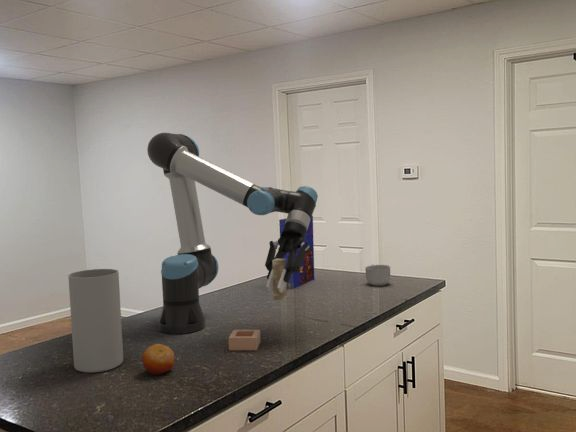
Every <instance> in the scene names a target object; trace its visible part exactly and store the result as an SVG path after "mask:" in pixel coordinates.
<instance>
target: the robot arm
mask: <svg viewBox="0 0 576 432" xmlns="http://www.w3.org/2000/svg"><path fill="white" fill-rule="evenodd" d="M146 149H147V151H146V152H147V156H148V157H149V160H150V161H151V163H152V164H154V165H155V166H157V167H158V168H161V169H162V170H163V175H164V177H166V178H167V179H168V180H169V186H170V191H171V198H172V203H173V208H174V213H175V214H174V216H175V221H176V226H177V233H178V237H179V243H180V247H179V249H178V250H177V252H176V253H177V254H176V255H171V256H168V257H166V258H165V259H163V261H162V262H161V269H160V274H161V289H162V306H163V307H162V310H161V313H160V317H159V321H158V330H159V331H160V332H161V333H163V334H164V333H165V334H172V335H173V334H174V335H176V334H177V335H178V334H179V335H181V334H188V333H189V334H190V333H194V332H198V331H201V330H202V329H204V328H205V327H206V317H205V315H204V312H203V310H202V307H201V304H200V293H199V292H200V290H199V289H202V288H203V287H207V286H208V285H210V284H211V283H212V282H213V281H214V280H215V279H216V278H217V275H218V272H219V262H218V259H217V258H216V257H215V255H213V253H212V248H211V245H209V244H207V242H206V239H205V235H204V234H205V233H204V228H203V227H204V226H203V221H202V216H201V215H202V214H201V210H200V204H199V199H198V198H199V197H198V192H197V187H196V182H197V183H199V184H200V185H202V186H204V187H206V188H208V189H210V190H212V191H214V192H216V193H219V194H220V195H222V196H224V197H226V198H228V199H230V200H232V201H234V202H235V203H238V204H240V205H242V206H244V207H246V208H247V209H248V210H249V211H250V212H251V213H252V214H253V215H257V216H266V215H269V214H271V213H272V214H273V213H275V212H276V213H277V212H278V213H283V214H287V216H286V218H287V219H286V218H285V219H286V221H285V225H284V227H283V230H282V233H281V237H280V236H279V238H278V239H277V240H276V241H273V240H271V241H269V250H268V253H267V255H266V260H265V262H264V263H265V264H264V267H265V268H266V269H267V271H268V272H267V275H266V278H267V283H266V285H265V288H266V289H267V291H268V292H269V293H271V292H273V264H272V260H274V259H283V257H284V256H285V255H286V253H288V252H289V255H288V261H287V267H286V269H287V270H286V269H283V272H282V275H281V278H280V281H279V283H278V286H277V288H278V290H279V292H280V293H282V292H283V289H284V286H285V283H286V282H288V281H289V279H290V276H291V274H292V273H293V272H295V273H297V272H298V271H299V269H300V267H301V264H302V262H303V260H304V257H305V255H306V253H307V252H308V251H309V250H310V247H309V245H308V243H307V242H306V243H304V239H305V236H306V233H307V229H308V226H309V223H310V220H311V217H312V216H313V214H314V212H315V209H316V206H317V201H318V196H319V195H318V193H317V191H316V189H315V188H314V187H310V186H309V185H303V186H299V187H298V188H297V190H296V191H291V190H284V189H279V188H273V187H272V186H271V187H270V186H269V187H268V186H267V187H266V186H259V185H256V183H252V182H250V181H249V180H247V179H245V178H243V177H240V176H238V174H237V175H236V174H234V173H232V172H231V171H228V170H227V169H224V168H223V167H220V166H219V165H217V164H214V163H212V162H211V161H208V160H207V159H204V158H202V157H200V149H199V145H198V144H197V142H196V141H195V140H194V139H193V138H192V137H190V136H188V135H185V134H182V133H170V132H160V133H157V134H155V135H154V136H153V137H151V139H150V140H149V141H148V144H147V148H146ZM300 247H301V248H300ZM299 248H300V250H299V253H298V255H297V257H296V259H295V256H296V252H297V250H298V249H299ZM294 260H295V262H294Z"/></svg>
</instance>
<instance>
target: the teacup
mask: <svg viewBox="0 0 576 432" xmlns="http://www.w3.org/2000/svg"><path fill="white" fill-rule="evenodd" d="M364 269H365V278H366V281H367V283H369V284H370V285H371V286H373V287H383V286H386V285H387V284H388V283H389V282H390V281H391V266H390V265H387V264H371V265H368V266H365V268H364Z"/></svg>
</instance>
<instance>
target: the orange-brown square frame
mask: <svg viewBox="0 0 576 432" xmlns="http://www.w3.org/2000/svg"><path fill="white" fill-rule="evenodd" d="M260 344H261V329H233V330H232V332H231V333H230V335H229V336H228V351H257V350H258V348H259V346H260Z"/></svg>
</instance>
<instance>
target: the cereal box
mask: <svg viewBox="0 0 576 432" xmlns="http://www.w3.org/2000/svg"><path fill="white" fill-rule="evenodd" d="M286 219H287V217H286V218H281V219H278V221H279V225H278V226H279V238H280V237H281V233H282V230H283V227H284V225H285V221H286ZM306 242H307V243H308V245H309V247H310V250H309V251H308V252H307V253H306V255H305V257H304V260H303V262H302V264H301V267H300V269H299V271H298V272H297V273H295V272H293V273H292V274H291V276H290V279H289V281H288V282H286V289H291V290H292V289H293V290H294V289H296V288H298V287H301V286H302V285H305V284H307V283H309V282H311V281H314V280H315V257H314V256H315V253H314V251H315V248H314V247H315V246H314V216H313V215H312V217H311V220H310V223H309V226H308V229H307V233H306V236H305V239H304V243H306ZM300 248H301V247H300ZM300 248H299V249H298V250H297V252H296V256H295V259H296V257H297V255H298V253H299V250H300ZM288 255H289V252H288V253H286V255H285V256H284V257H283V259H286V267H287V261H288ZM294 262H295V260H294ZM286 270H287V269H286Z"/></svg>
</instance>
